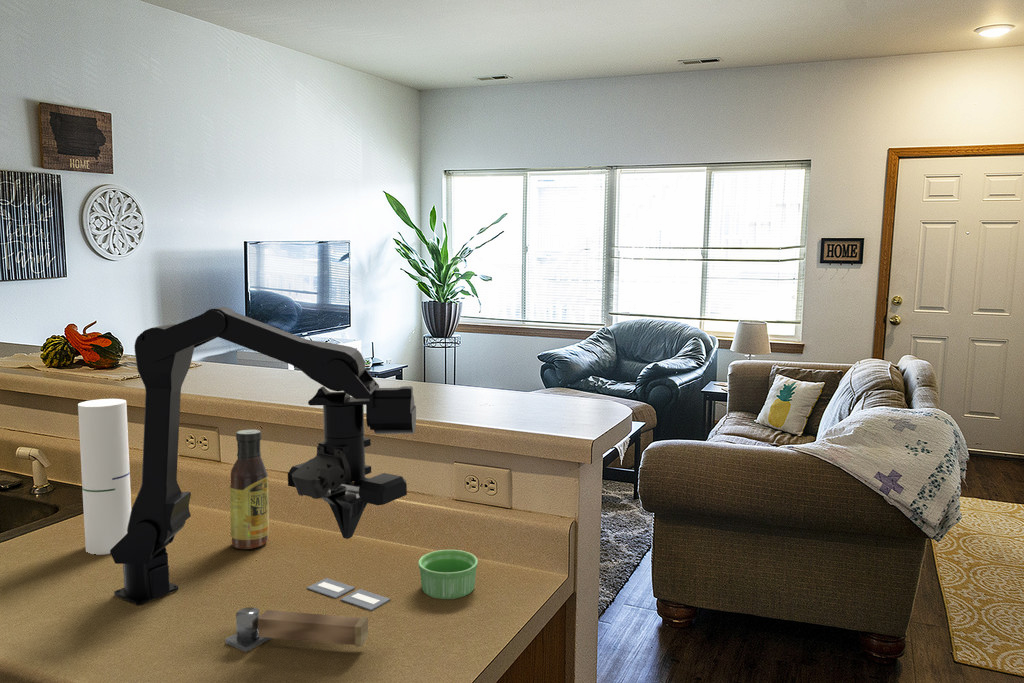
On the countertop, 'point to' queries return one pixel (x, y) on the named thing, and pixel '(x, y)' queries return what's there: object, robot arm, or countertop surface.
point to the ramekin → (448, 573)
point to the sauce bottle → (249, 494)
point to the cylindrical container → (104, 472)
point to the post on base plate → (246, 630)
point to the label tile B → (365, 599)
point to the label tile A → (330, 588)
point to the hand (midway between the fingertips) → (347, 537)
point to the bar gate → (313, 627)
